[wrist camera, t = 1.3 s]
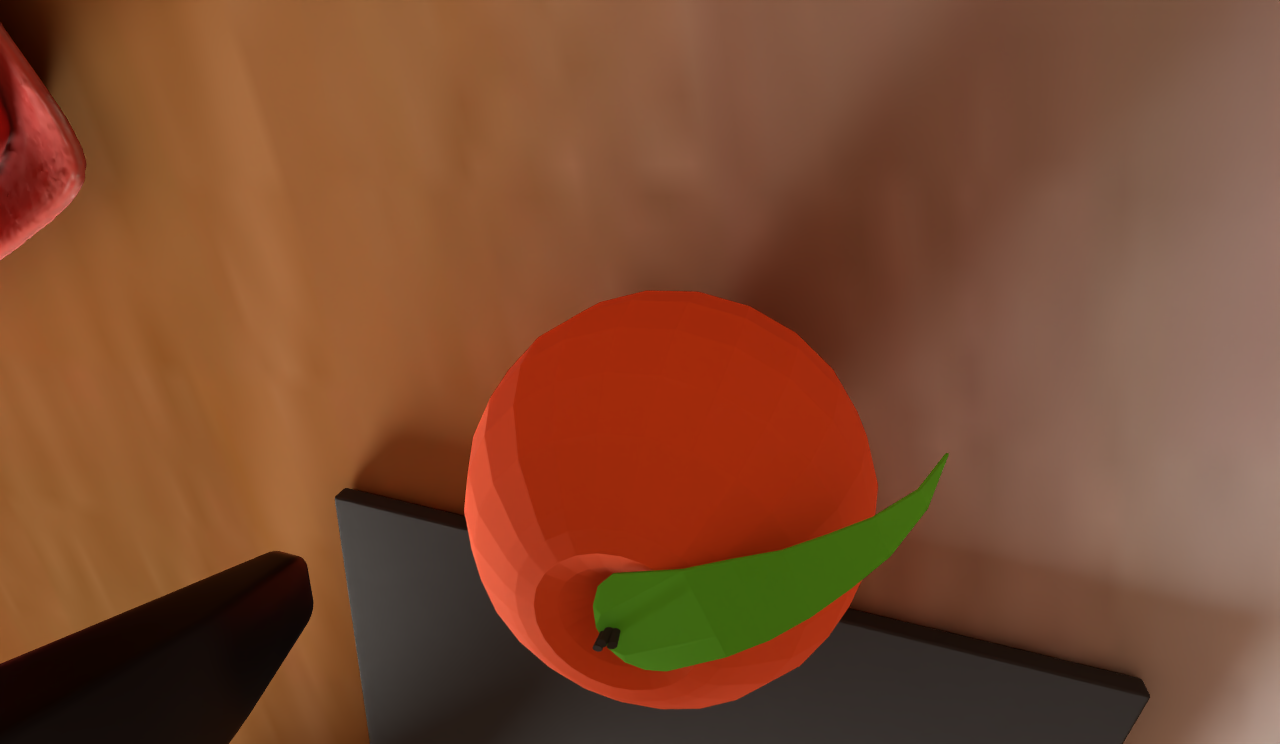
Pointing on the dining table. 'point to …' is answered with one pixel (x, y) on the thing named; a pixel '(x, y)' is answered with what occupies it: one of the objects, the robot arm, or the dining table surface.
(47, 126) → the butter dish
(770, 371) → the clementine
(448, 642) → the placemat
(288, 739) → the dining table surface
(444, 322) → the dining table surface
